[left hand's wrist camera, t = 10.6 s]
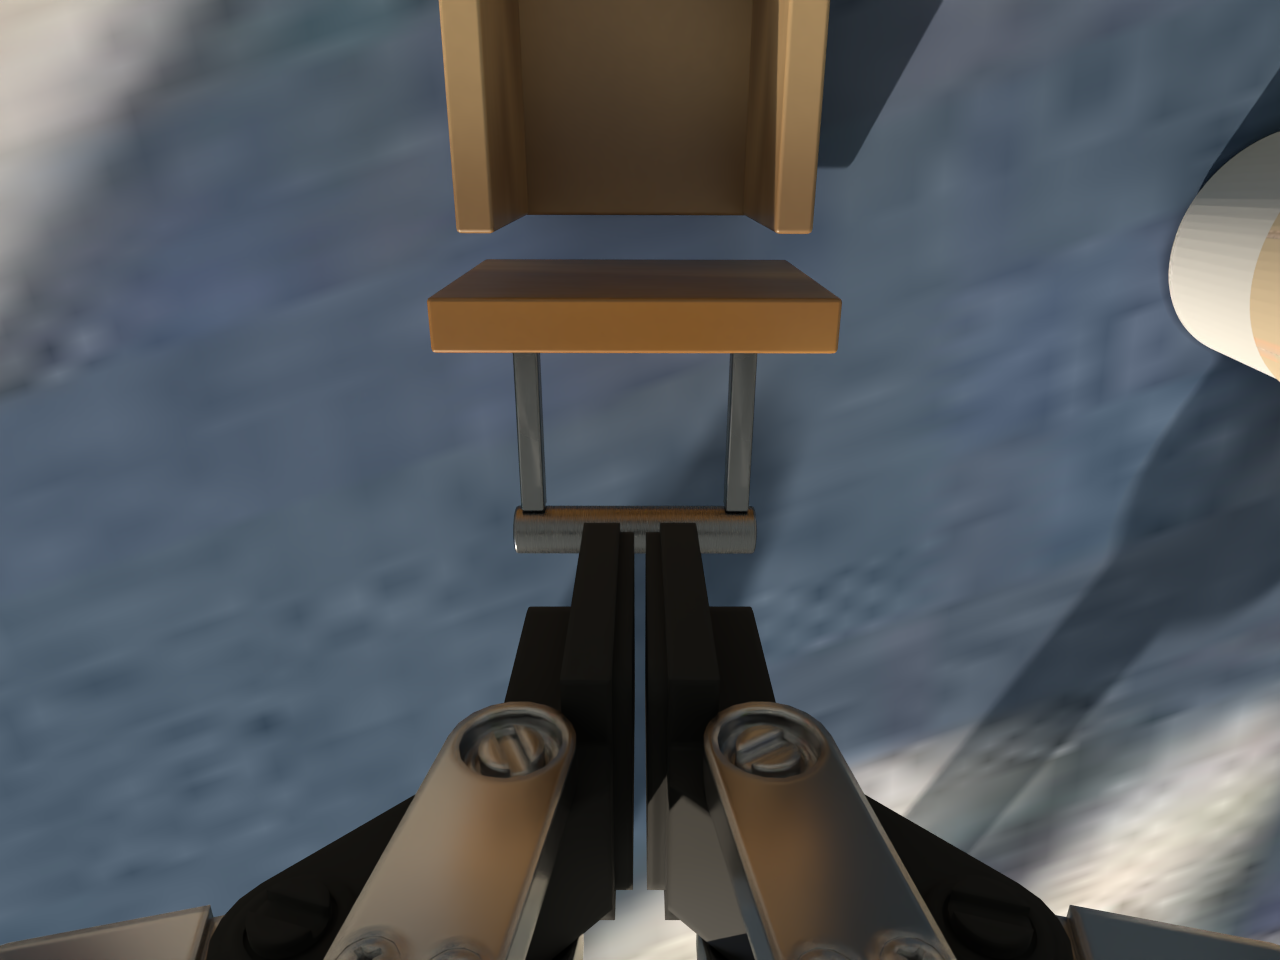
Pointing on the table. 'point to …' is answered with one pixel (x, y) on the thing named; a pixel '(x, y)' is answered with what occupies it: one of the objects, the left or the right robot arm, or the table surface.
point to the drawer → (634, 207)
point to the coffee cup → (1234, 260)
